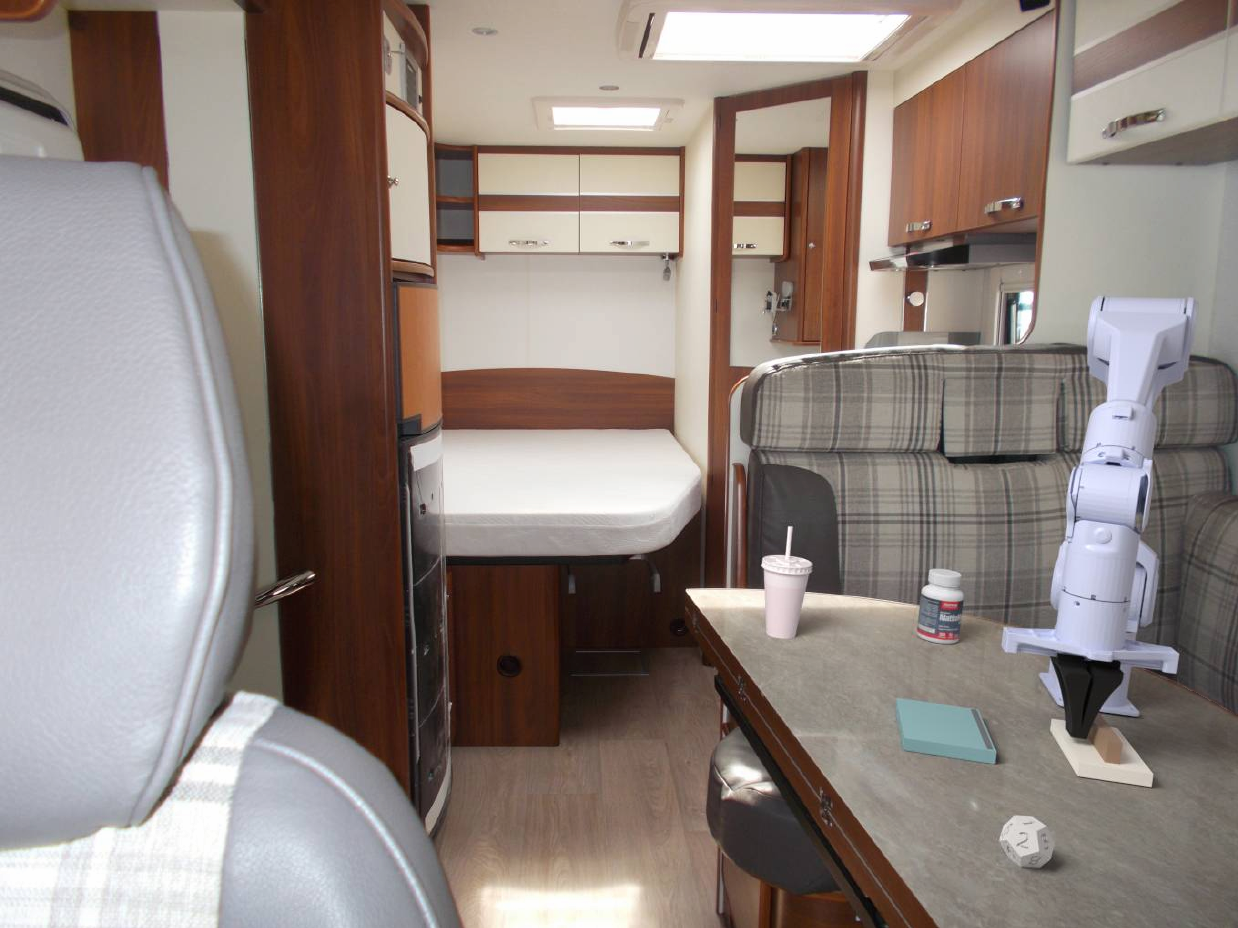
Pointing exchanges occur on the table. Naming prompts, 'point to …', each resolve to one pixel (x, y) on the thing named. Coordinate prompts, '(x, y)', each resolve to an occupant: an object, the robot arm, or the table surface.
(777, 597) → the smoothie
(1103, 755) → the cream block with bar
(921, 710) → the teal flat block
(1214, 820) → the table surface
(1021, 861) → the game die
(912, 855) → the table surface
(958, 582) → the pill bottle
